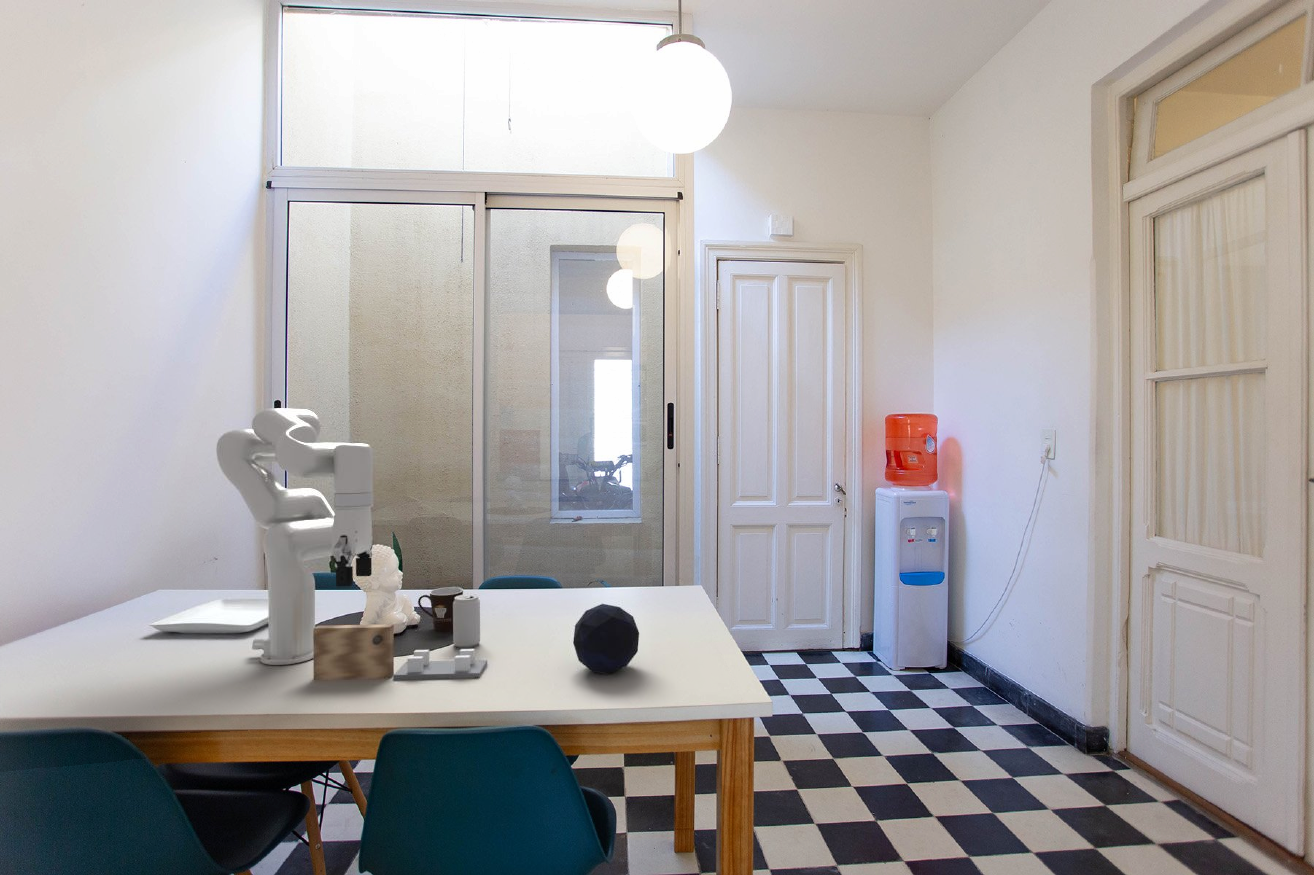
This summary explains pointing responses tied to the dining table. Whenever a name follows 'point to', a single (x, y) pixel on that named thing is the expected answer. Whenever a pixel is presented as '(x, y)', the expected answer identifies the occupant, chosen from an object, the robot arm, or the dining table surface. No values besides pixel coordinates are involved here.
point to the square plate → (218, 617)
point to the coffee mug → (442, 607)
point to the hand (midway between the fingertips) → (354, 580)
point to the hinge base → (441, 666)
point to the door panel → (353, 652)
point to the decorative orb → (606, 639)
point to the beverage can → (466, 621)
